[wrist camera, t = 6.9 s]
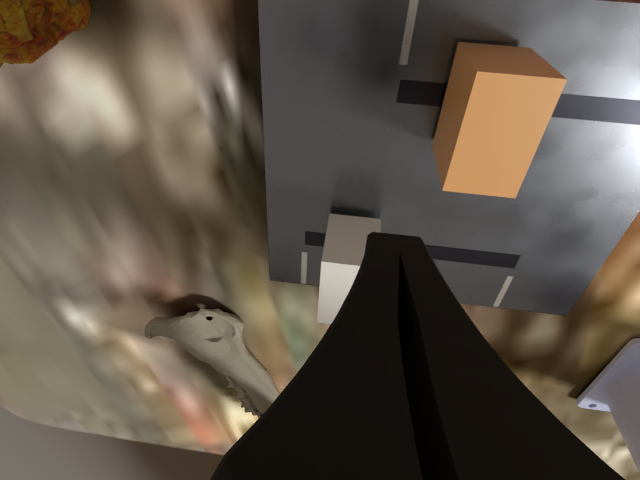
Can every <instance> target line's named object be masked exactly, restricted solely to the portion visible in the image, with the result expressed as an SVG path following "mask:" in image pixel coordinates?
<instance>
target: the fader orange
mask: <svg viewBox="0 0 640 480" xmlns="http://www.w3.org/2000/svg"><path fill="white" fill-rule="evenodd" d="M566 81H567V78H565V77H564V76H563V75H562V74H561V73H560V72H558V71H557V70H556V69H555V68H554V67H553V66H551V65H550V64H549V63H548V62H547V61H546V60H544V59H543V58H542V57H541V56H540V55H539V54H537V53H536V52H535V51H534V50H533V49H532V48H527V47H515V46H503V45H491V44H479V43H467V42H458V45H457V49H456V53H455V57H454V61H453V65H452V69H451V73H450V77H449V81H448V85H447V89H446V93H445V97H444V101H443V105H442V109H441V113H440V117H439V121H438V125H437V129H436V133H435V137H434V141H433V145H432V148H433V152H434V156H435V161H436V165H437V169H438V174H439V178H440V182H441V187H442V191H450V192H460V193H469V194H479V195H488V196H498V197H508V198H516V196H517V194H518V191H519V189H520V187H521V184H522V182H523V180H524V178H525V175H526V173H527V171H528V168H529V166H530V164H531V162H532V159H533V157H534V155H535V152H536V150H537V148H538V146H539V143H540V141H541V139H542V136H543V134H544V132H545V129H546V127H547V125H548V123H549V120H550V118H551V116H552V113H553V111H554V109H555V107H556V104H557V102H558V100H559V97H560V95H561V93H562V91H563V88H564V86H565V84H566Z"/></svg>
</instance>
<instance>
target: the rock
mask: <svg viewBox="0 0 640 480" xmlns="http://www.w3.org/2000/svg"><path fill="white" fill-rule="evenodd" d="M90 14H91V8H90V4H89V0H0V67H1V66H2V64H3V63H5V62H6V63H9V64H15V63H17V64H22V63H33V62H34V61H36V60H37V59H38V58H40V57H41V56H42V55H43V54H45V53H46V52H47V51H48V50H50V49H51V48H53V47H54V46H55V45H57V44H58V41H61V40H64V38H65V37H66V36H67V35H68V34H70V33H71V32H72V31H78V30H83V29H84V28H85V27H86V26H87V25H88V22H89V18H90Z"/></svg>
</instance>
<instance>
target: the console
mask: <svg viewBox="0 0 640 480" xmlns="http://www.w3.org/2000/svg"><path fill="white" fill-rule="evenodd" d="M258 16H259V39H260V63H261V86H262V109H263V132H264V156H265V179H266V202H267V226H268V249H269V272H270V280H273V281H281V282H289V283H298V284H306V285H314V286H320V273H321V261H322V255H323V249H324V243H325V237H326V231H327V225H328V219H329V213H330V214H339V215H348V216H357V217H366V218H376V219H381V233H389V234H399V235H408V236H418V237H421V239H422V240H423V241H424V243H425V245H426V247H427V249H428V251H429V253H430V255H431V257H432V259H433V260H434V262H435V264H436V266H437V268H438V269H439V271H440V273H441V275H442V276H443V278H444V280H445V281H446V283H447V284H448V286H449V288H450V289H451V291H452V292H453V294H454V295H455V297H456V299H457V300H458V302H459V303H464V304H472V305H481V306H489V307H497V308H506V309H514V310H522V311H531V312H539V313H547V314H556V315H564V316H567V315H568V314H569V312H570V311H571V309H572V308H573V307H574V305H575V304H576V302H577V301H578V299H579V298H580V296H581V295H582V294H583V292H584V291H585V289H586V288H587V286H588V285H589V283H590V282H591V281H592V279H593V278H594V276H595V275H596V273H597V272H598V270H599V269H600V268H601V266H602V265H603V263H604V262H605V260H606V259H607V257H608V256H609V255H610V253H611V252H612V250H613V249H614V247H615V246H616V244H617V243H618V242H619V240H620V239H621V237H622V236H623V234H624V233H625V231H626V230H627V229H628V227H629V226H630V224H631V223H632V221H633V220H634V218H635V217H636V216H637V214H638V213H639V211H640V0H258ZM458 42H467V43H479V44H491V45H503V46H515V47H527V48H532V49H533V50H534V51H535V52H536V53H537V54H539V55H540V56H541V57H542V58H543V59H544V60H546V61H547V62H548V63H549V64H550V65H551V66H553V67H554V68H555V69H556V70H557V71H558V72H560V73H561V74H562V75H563V76H564V77H565V78H567V81H566V84H565V86H564V88H563V91H562V93H561V95H560V97H559V100H558V102H557V104H556V107H555V109H554V111H553V113H552V116H551V118H550V120H549V123H548V125H547V127H546V129H545V132H544V134H543V136H542V139H541V141H540V143H539V146H538V148H537V150H536V152H535V155H534V157H533V159H532V162H531V164H530V166H529V168H528V171H527V173H526V175H525V178H524V180H523V182H522V184H521V187H520V189H519V191H518V194H517V196H516V198H508V197H498V196H488V195H479V194H469V193H460V192H450V191H442V187H441V182H440V178H439V174H438V169H437V165H436V161H435V156H434V152H433V148H432V145H433V141H434V137H435V133H436V129H437V125H438V121H439V117H440V113H441V109H442V105H443V101H444V97H445V93H446V89H447V85H448V81H449V77H450V73H451V69H452V65H453V61H454V57H455V53H456V49H457V45H458Z"/></svg>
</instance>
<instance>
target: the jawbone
mask: <svg viewBox="0 0 640 480" xmlns="http://www.w3.org/2000/svg"><path fill="white" fill-rule="evenodd" d="M210 316H211V317H212V318H213V317H214V318H213V319H212V320H211V321H208V320H207V319H206V317H210ZM243 328H244V323H243V321H242V320H241V318H240V317H238V316H236V315H234V314H230V313H227V312H223V311H221V310H220V309H211V310H210V309H200V310H199V311H195V312H188V313H187V314H186V315H184V316H177V317H170V318H160V317H156V318H154V319H153V320H151V321H150V322H149V324H148V325H147V326H146V327H145V336H146V337H147V338H152V337H154V336H164V337H168V338H172V339H175V340H176V341H177V342H178V343H179V344H180V345H181V346H182V347H183V348H184V349H185V350H186V351H188V352H189V353H190V354H191V355H193V356H194V357H195V358H197V359H198V360H201V361H203V362H206V363H209V364H210V365H211V366H212V367H213V368H214V369H215V370H217V371H218V372H219V373H221V374H222V375H223V376H225V378H226V379H227V380H228V381H229V382H228V385H227V387H226V388H233V387H234V390H235V391H236V392H237V394H236V399H241V400H240V401H241V402H242V405H241V408H242V407H245V409H244V410H245V412H252V415H257V416H258V418H260V417H261V416H262V415H263V413H264V412H265V411H266V410H267V409H268V408H269V407H270V405H271V404H272V403H273V402H274V401H275V399H276V398H277V397H278V396H279V395H280V392H279V391H278V389H277V387H276V385H275V383H274V381H273V380H272V378H271V376H270V375H269V373H268V372H267V371H266V370H265V369H264V367H263V366H262V365H261V364H260V363H259V362H258V361H257V360H256V359H255V358H254V356H253V355H252V354H251V353H250V352H249V351H248V350H247V349H246V347H245V345H244V342H243V339H242V330H243Z"/></svg>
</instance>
